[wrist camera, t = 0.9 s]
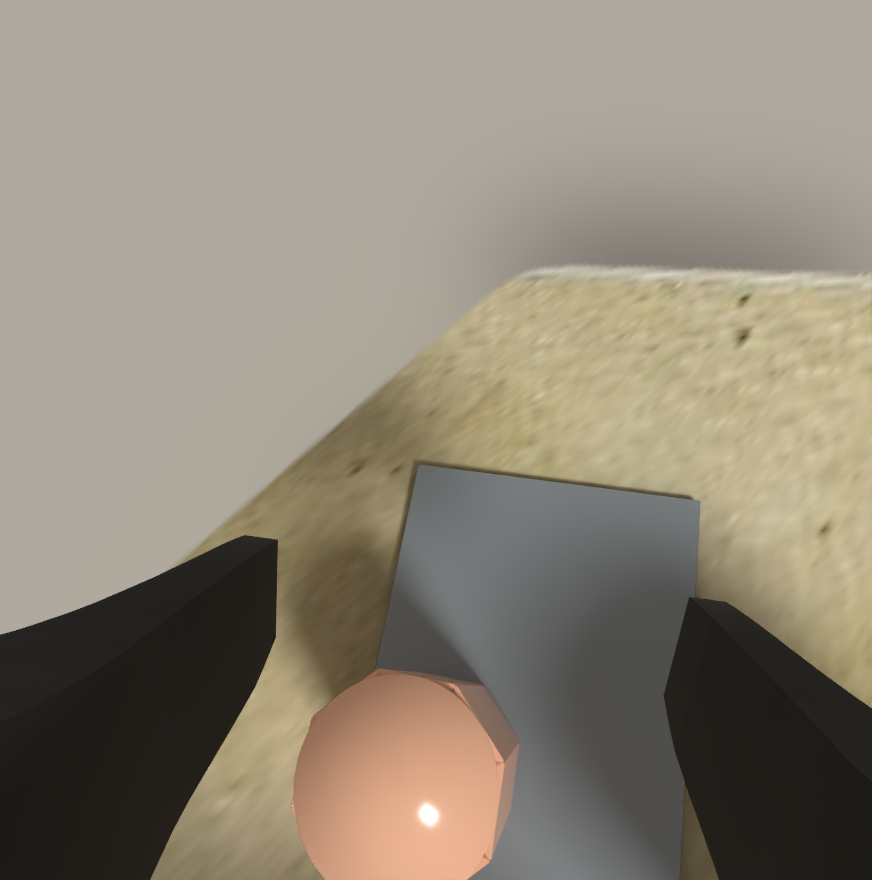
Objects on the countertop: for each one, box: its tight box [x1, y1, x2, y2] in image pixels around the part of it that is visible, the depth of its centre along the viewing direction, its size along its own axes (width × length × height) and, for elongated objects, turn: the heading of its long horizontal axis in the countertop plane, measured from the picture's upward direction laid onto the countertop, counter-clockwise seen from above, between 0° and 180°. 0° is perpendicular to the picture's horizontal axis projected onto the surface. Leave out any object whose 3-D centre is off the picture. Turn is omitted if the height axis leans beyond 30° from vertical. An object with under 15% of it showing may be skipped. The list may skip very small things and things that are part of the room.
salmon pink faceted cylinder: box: [291, 668, 520, 880], centre depth 19 cm, size 5×5×7 cm
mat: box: [375, 464, 700, 880], centre depth 23 cm, size 15×11×1 cm
